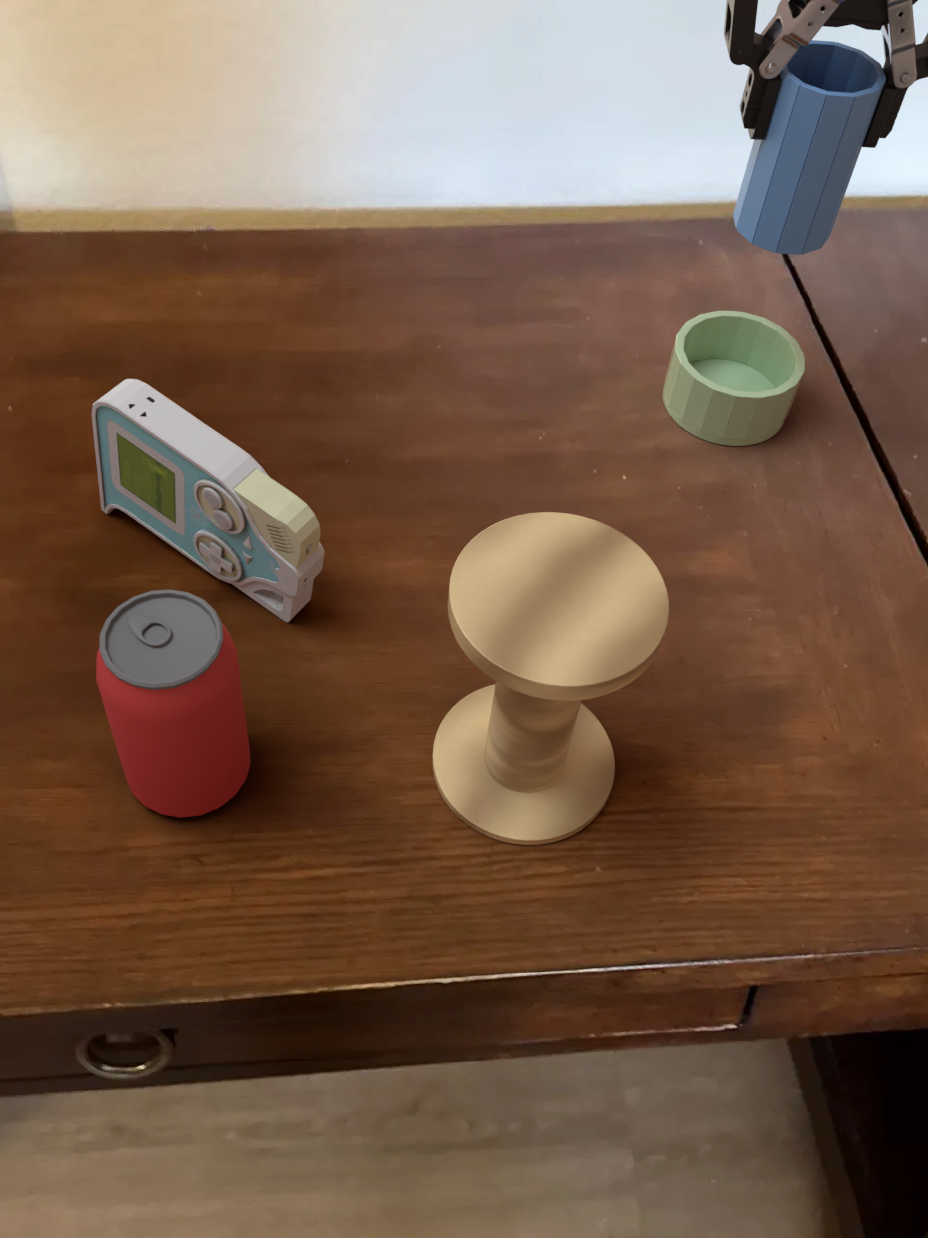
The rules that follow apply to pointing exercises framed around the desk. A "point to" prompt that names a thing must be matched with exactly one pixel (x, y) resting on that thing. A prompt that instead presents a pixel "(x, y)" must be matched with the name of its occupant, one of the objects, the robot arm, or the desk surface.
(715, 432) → the green cup
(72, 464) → the desk surface
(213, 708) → the beer can
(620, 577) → the stand
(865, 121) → the blue cup
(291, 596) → the handheld gaming console
